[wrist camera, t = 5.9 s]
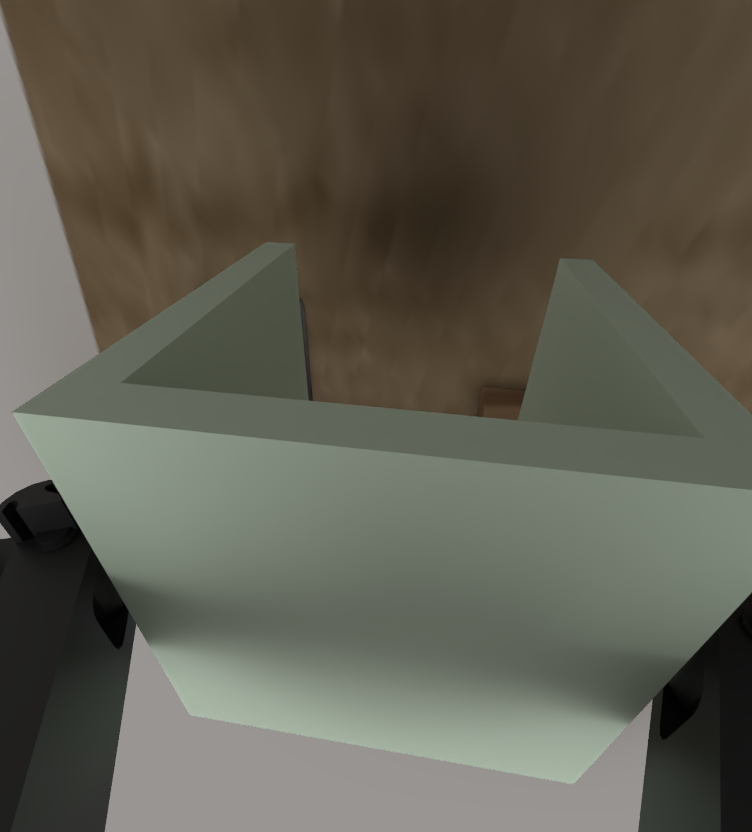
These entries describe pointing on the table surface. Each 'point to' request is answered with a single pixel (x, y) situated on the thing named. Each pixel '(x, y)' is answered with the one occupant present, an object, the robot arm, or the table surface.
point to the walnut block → (500, 403)
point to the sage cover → (409, 525)
